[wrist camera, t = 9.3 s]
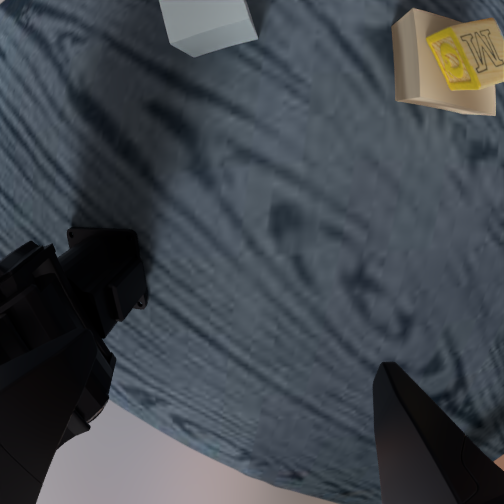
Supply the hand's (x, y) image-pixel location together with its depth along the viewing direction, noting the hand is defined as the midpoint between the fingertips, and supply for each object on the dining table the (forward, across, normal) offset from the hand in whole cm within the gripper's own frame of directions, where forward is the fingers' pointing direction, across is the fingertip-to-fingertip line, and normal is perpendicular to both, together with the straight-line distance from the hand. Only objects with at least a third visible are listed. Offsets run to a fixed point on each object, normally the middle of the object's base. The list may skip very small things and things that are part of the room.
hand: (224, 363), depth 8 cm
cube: (+12, +3, -13) cm, 18 cm away
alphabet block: (+8, -10, -11) cm, 17 cm away
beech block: (+12, -10, -11) cm, 19 cm away
